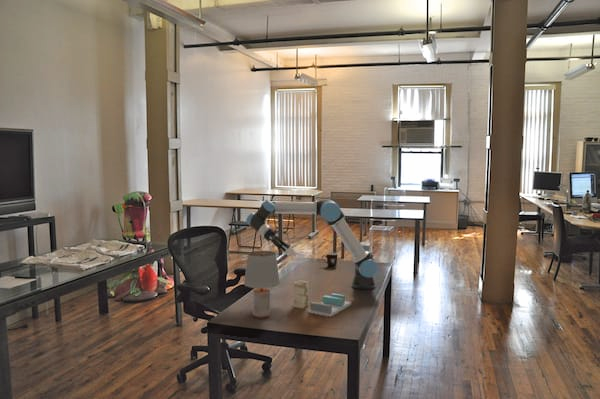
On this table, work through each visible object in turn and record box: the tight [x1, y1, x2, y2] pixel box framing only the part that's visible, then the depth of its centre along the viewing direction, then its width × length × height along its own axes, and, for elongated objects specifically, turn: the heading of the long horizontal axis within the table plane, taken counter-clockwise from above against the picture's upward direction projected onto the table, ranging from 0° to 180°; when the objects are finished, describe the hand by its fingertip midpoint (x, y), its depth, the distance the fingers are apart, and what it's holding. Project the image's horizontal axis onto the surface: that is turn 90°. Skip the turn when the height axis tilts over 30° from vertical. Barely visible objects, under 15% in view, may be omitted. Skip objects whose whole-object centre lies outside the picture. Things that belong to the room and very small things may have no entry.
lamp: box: [243, 250, 281, 319], centre depth 258 cm, size 19×19×34 cm
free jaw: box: [322, 292, 346, 306], centre depth 278 cm, size 8×12×4 cm
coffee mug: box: [321, 252, 339, 268], centre depth 372 cm, size 12×9×10 cm
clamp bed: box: [307, 300, 352, 318], centre depth 272 cm, size 25×14×6 cm, turn 148°
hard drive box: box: [359, 241, 371, 252], centre depth 361 cm, size 16×8×20 cm, turn 168°
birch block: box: [293, 279, 310, 309], centre depth 276 cm, size 6×6×14 cm
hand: (293, 254), depth 288 cm, fingers open, 13 cm apart
